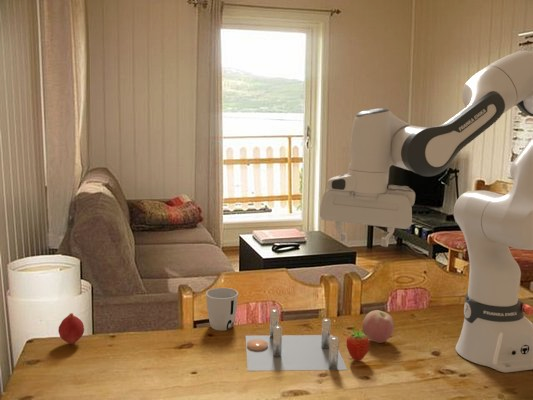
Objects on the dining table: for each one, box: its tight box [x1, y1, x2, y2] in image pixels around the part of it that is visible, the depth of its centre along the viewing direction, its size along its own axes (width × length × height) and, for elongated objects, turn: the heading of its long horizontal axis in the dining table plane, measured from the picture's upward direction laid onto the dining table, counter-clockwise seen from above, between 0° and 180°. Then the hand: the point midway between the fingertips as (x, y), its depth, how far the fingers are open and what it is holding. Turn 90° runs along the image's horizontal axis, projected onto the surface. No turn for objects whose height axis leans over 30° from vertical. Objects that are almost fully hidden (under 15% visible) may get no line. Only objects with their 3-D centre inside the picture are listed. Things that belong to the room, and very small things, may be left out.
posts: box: [269, 308, 340, 371], centre depth 130 cm, size 14×18×7 cm
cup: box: [205, 287, 239, 332], centre depth 144 cm, size 8×8×10 cm
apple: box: [361, 309, 395, 344], centre depth 139 cm, size 8×8×8 cm
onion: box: [58, 312, 85, 345], centre depth 134 cm, size 6×6×8 cm
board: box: [245, 334, 348, 372], centre depth 131 cm, size 22×18×1 cm
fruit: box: [346, 327, 370, 362], centre depth 128 cm, size 5×5×8 cm
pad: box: [247, 339, 268, 351], centre depth 133 cm, size 5×5×1 cm
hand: (363, 243), depth 125 cm, fingers open, 8 cm apart
